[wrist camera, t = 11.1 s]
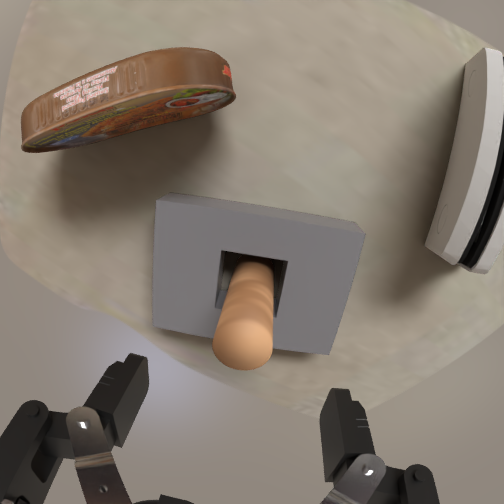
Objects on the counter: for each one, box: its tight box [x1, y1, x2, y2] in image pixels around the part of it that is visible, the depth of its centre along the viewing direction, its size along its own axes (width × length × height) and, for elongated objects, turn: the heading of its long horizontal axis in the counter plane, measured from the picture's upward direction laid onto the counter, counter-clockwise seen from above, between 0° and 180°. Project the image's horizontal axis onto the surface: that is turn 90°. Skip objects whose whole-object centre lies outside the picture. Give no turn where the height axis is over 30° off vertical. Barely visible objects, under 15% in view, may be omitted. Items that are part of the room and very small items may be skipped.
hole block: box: [153, 193, 365, 355], centre depth 23 cm, size 14×10×3 cm
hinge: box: [424, 48, 504, 274], centre depth 17 cm, size 17×5×10 cm, turn 168°
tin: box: [21, 47, 236, 153], centre depth 17 cm, size 15×3×8 cm, turn 98°
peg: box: [212, 254, 274, 370], centre depth 20 cm, size 3×3×10 cm
